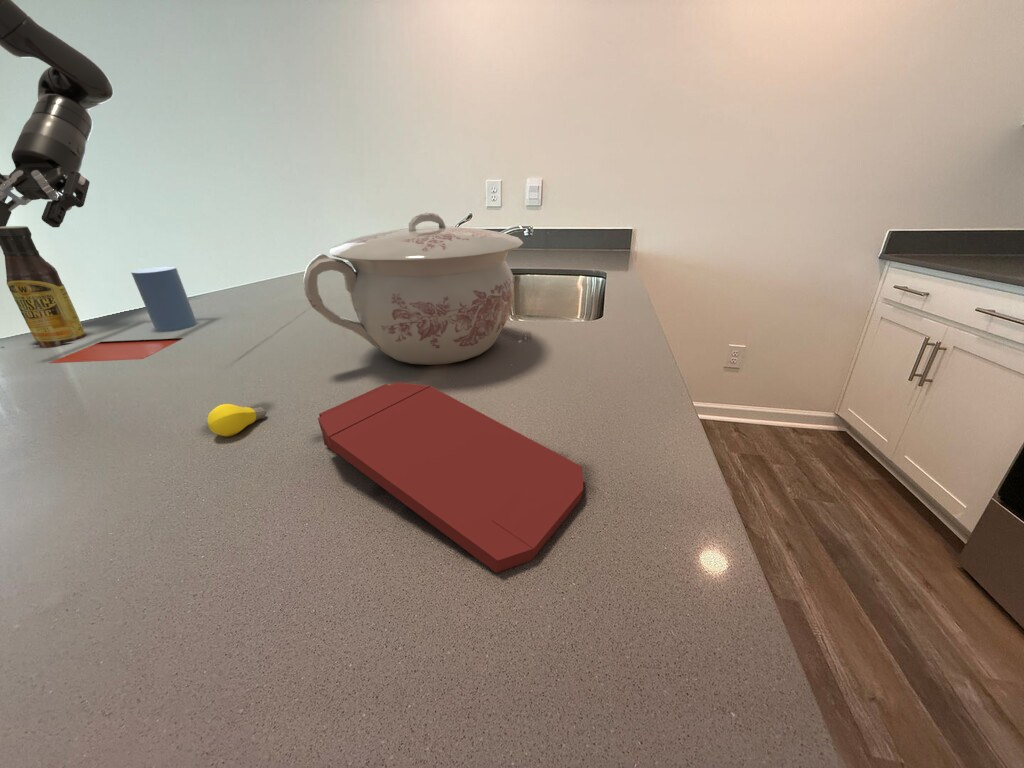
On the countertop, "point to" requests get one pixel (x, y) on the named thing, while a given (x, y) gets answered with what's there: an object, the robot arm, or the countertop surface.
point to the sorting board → (118, 350)
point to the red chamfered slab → (457, 469)
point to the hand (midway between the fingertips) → (22, 224)
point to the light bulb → (232, 418)
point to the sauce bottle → (38, 290)
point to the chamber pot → (423, 289)
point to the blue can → (164, 298)
